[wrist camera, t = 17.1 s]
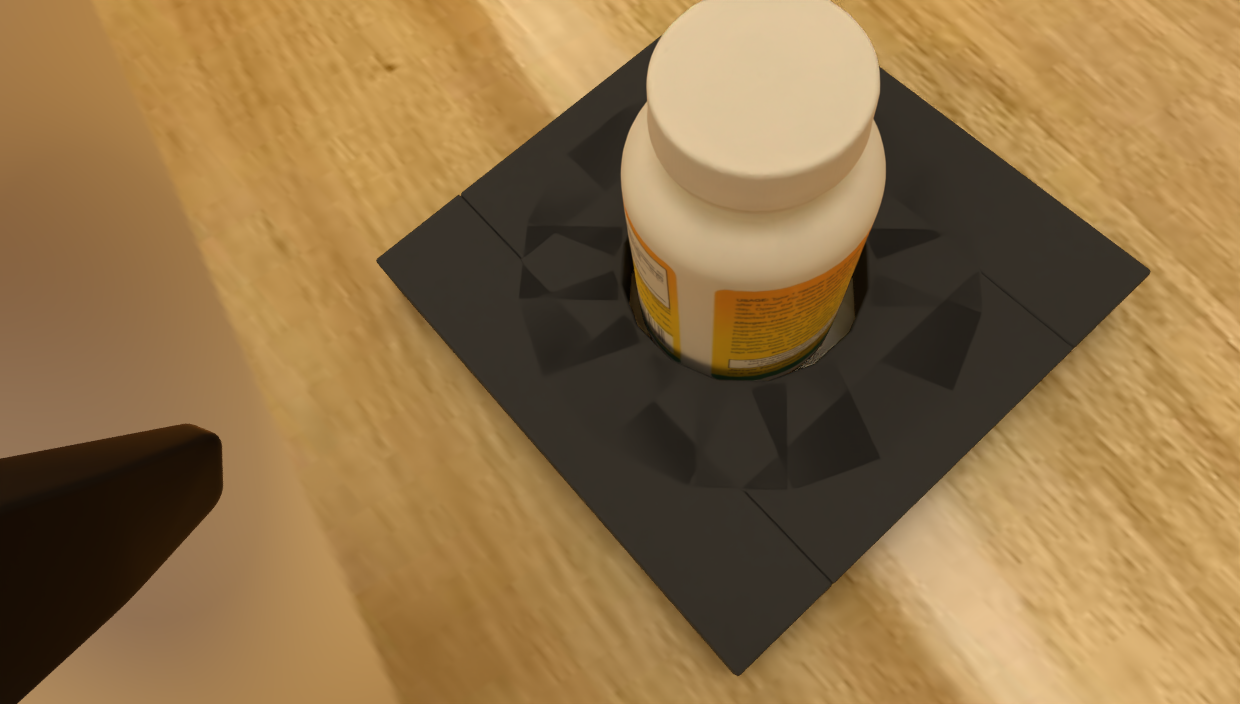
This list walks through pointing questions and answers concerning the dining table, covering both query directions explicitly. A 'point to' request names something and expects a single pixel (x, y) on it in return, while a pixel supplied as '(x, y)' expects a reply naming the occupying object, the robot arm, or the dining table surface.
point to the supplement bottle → (752, 182)
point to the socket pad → (744, 409)
